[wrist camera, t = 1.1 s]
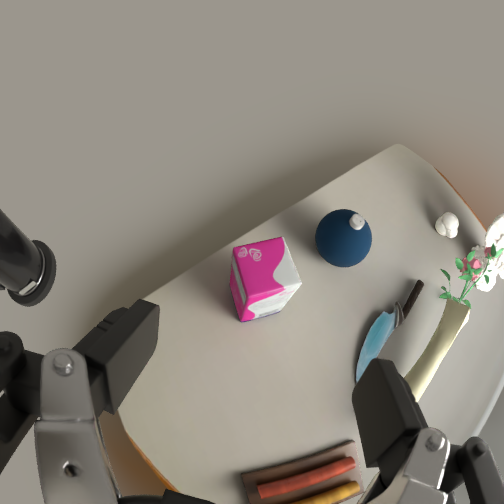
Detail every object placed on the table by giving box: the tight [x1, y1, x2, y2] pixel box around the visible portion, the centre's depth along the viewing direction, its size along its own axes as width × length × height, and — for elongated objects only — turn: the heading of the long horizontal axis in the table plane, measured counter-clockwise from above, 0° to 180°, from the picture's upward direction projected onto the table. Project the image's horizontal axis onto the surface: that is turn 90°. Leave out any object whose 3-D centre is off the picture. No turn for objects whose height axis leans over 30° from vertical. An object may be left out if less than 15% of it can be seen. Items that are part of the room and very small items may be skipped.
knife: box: [356, 280, 424, 384], centre depth 37 cm, size 22×2×5 cm
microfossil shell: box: [435, 212, 459, 238], centre depth 45 cm, size 4×5×6 cm
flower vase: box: [404, 243, 504, 402], centre depth 35 cm, size 12×12×35 cm
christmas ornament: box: [315, 209, 372, 267], centre depth 38 cm, size 8×8×10 cm
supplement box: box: [230, 237, 302, 322], centre depth 32 cm, size 6×6×12 cm
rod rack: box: [241, 440, 364, 504], centre depth 25 cm, size 16×10×3 cm, turn 102°
